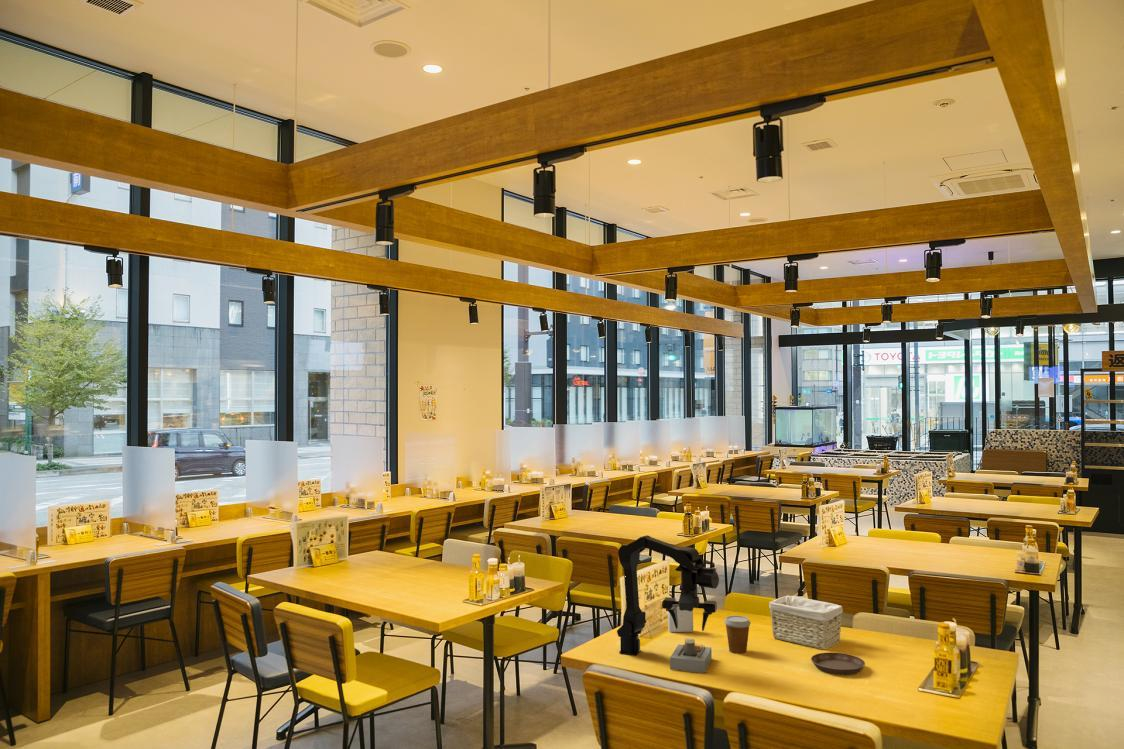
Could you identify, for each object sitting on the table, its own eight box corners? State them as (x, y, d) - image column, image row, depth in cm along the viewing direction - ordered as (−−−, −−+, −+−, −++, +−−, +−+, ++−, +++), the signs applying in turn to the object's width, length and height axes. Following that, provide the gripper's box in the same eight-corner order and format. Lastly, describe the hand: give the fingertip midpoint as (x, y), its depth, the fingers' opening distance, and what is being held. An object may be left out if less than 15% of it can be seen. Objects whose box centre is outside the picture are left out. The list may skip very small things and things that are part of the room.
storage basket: (845, 643, 290) (844, 604, 291) (826, 652, 278) (825, 612, 279) (788, 630, 307) (787, 594, 308) (768, 639, 295) (767, 601, 296)
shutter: (683, 649, 268) (683, 644, 268) (686, 644, 274) (686, 640, 274) (700, 651, 266) (700, 646, 266) (702, 646, 272) (702, 641, 272)
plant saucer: (831, 680, 250) (831, 670, 250) (800, 663, 267) (800, 654, 267) (876, 674, 255) (876, 665, 255) (843, 658, 272) (843, 650, 272)
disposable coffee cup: (751, 656, 274) (751, 622, 275) (725, 654, 276) (724, 621, 277) (750, 648, 284) (749, 616, 284) (724, 646, 286) (724, 614, 286)
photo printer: (668, 632, 304) (668, 601, 305) (667, 629, 308) (667, 599, 309) (694, 633, 304) (693, 602, 304) (692, 630, 308) (692, 599, 309)
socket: (670, 669, 260) (669, 655, 261) (678, 655, 275) (678, 642, 276) (704, 673, 256) (704, 659, 257) (711, 658, 271) (711, 645, 272)
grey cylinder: (686, 663, 266) (685, 637, 266) (695, 664, 265) (695, 638, 265) (684, 666, 263) (684, 640, 263) (694, 667, 262) (693, 641, 262)
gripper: (658, 587, 261) (658, 633, 260) (712, 591, 255) (713, 638, 254) (664, 581, 271) (665, 625, 271) (717, 584, 265) (717, 629, 264)
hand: (689, 629), depth 265 cm, fingers open, 9 cm apart
